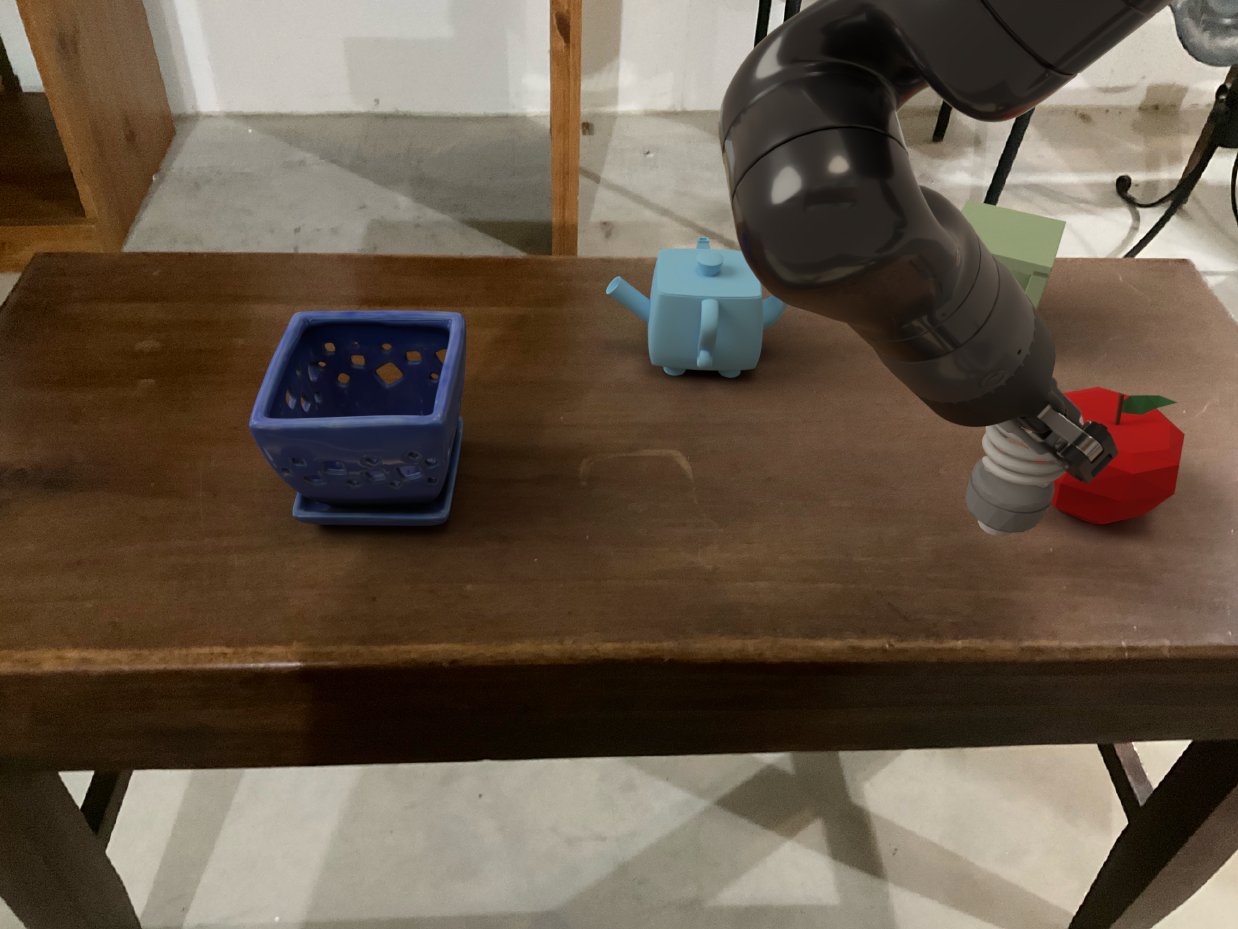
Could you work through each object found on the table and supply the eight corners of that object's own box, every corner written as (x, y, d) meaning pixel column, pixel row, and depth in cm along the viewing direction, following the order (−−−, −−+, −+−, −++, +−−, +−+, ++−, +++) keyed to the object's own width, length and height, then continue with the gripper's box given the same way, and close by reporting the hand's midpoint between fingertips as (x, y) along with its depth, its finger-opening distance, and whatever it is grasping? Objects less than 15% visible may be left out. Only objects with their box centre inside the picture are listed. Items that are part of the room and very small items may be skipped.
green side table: (1032, 313, 94) (1066, 221, 87) (1017, 362, 88) (1052, 267, 81) (940, 290, 97) (966, 198, 90) (919, 335, 91) (946, 241, 84)
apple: (1027, 536, 72) (1072, 435, 65) (1001, 443, 79) (1040, 344, 73) (1173, 550, 71) (1235, 449, 64) (1133, 454, 79) (1184, 356, 72)
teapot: (602, 392, 83) (602, 293, 77) (609, 303, 94) (610, 208, 87) (808, 400, 83) (827, 301, 76) (793, 309, 93) (808, 215, 87)
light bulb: (949, 551, 66) (999, 417, 58) (953, 496, 70) (1000, 364, 62) (1034, 570, 65) (1097, 436, 57) (1033, 514, 69) (1092, 381, 61)
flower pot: (464, 546, 70) (447, 422, 62) (281, 547, 70) (240, 421, 61) (480, 428, 80) (467, 307, 71) (320, 428, 79) (289, 306, 71)
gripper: (1124, 349, 45) (1185, 458, 57) (914, 216, 54) (1007, 335, 66) (1008, 468, 46) (1093, 549, 59) (824, 320, 56) (931, 417, 68)
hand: (1047, 435), depth 62 cm, fingers closed on light bulb, 5 cm apart
